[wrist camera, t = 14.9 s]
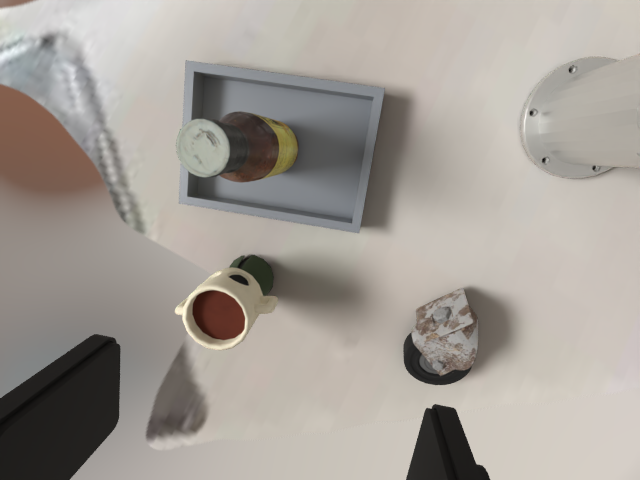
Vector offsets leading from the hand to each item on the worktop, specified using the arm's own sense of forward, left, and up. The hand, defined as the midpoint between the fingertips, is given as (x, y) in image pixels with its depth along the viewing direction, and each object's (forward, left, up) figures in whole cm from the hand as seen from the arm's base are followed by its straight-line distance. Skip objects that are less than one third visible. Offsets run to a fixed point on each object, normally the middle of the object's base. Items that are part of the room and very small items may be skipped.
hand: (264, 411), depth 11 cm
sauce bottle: (+9, -7, -36) cm, 37 cm away
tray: (+8, -7, -36) cm, 37 cm away
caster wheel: (-16, +14, -36) cm, 42 cm away
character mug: (+10, +10, -36) cm, 39 cm away
